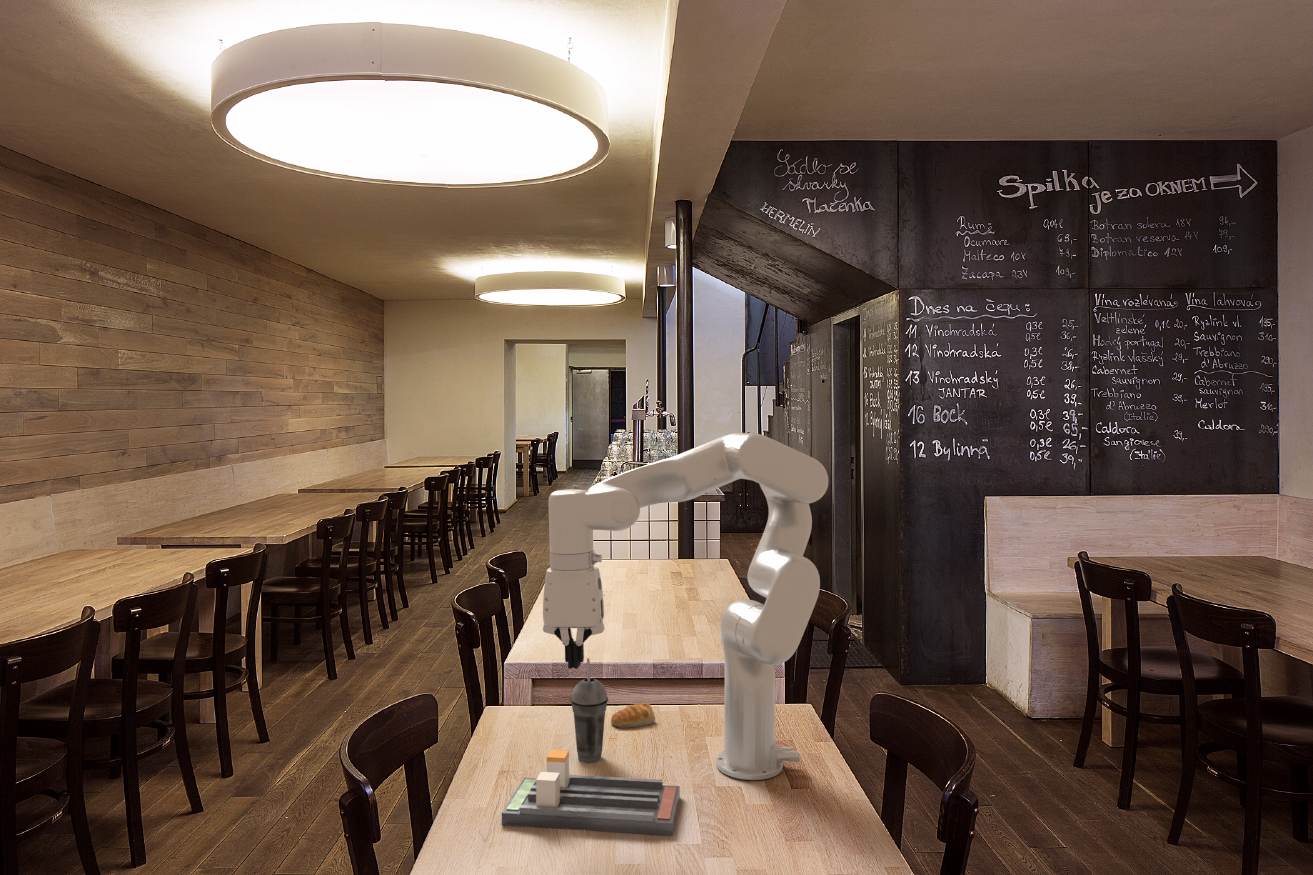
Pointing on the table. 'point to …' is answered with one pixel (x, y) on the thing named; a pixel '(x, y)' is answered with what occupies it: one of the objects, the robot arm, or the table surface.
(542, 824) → the gray rail tray
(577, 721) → the beverage cup
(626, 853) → the table surface
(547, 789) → the block
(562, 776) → the block
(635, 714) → the pastry
